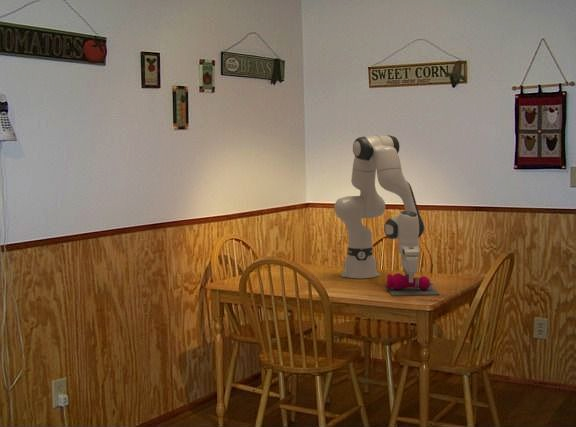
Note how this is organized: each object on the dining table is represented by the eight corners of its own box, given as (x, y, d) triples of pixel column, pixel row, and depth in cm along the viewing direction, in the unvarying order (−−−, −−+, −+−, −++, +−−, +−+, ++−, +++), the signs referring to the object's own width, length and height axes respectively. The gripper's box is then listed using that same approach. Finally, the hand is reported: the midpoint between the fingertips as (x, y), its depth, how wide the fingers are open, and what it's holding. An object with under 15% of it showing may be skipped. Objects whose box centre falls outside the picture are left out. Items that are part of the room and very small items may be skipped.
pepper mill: (387, 273, 339) (434, 275, 337) (387, 272, 346) (433, 275, 344) (386, 289, 339) (433, 292, 337) (386, 289, 346) (432, 291, 344)
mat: (384, 286, 354) (384, 285, 354) (429, 285, 354) (429, 284, 354) (392, 296, 332) (392, 294, 332) (439, 295, 332) (439, 293, 332)
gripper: (397, 245, 352) (397, 276, 353) (405, 252, 331) (405, 284, 333) (412, 245, 352) (412, 276, 353) (420, 252, 331) (420, 284, 333)
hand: (408, 280), depth 343 cm, fingers open, 8 cm apart
